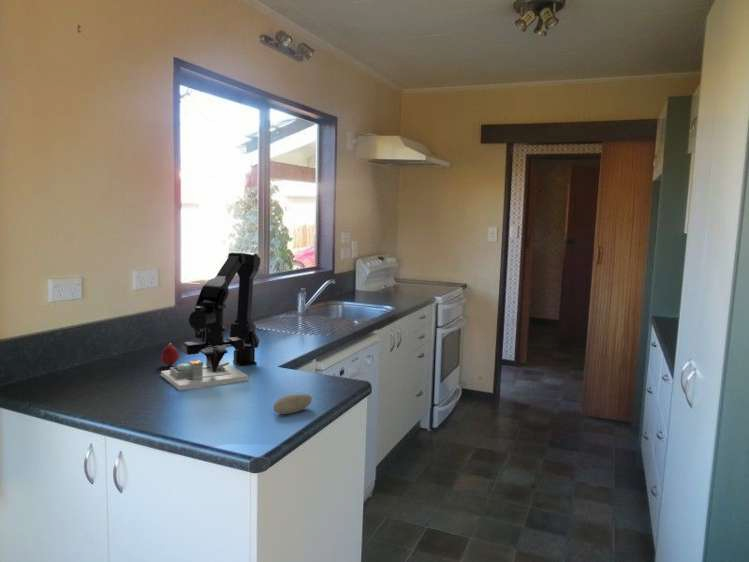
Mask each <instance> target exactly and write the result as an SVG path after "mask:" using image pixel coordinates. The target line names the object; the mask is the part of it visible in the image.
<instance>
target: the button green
mask: <svg viewBox="0 0 749 562" xmlns="http://www.w3.org/2000/svg"><path fill="white" fill-rule="evenodd" d="M176 367H177V371H179V372H182V371H189V370H190V364H189V363H179V364H177V365H176Z"/></svg>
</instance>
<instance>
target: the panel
mask: <svg viewBox="0 0 749 562" xmlns="http://www.w3.org/2000/svg"><path fill="white" fill-rule="evenodd" d="M169 367H170V368H169V369H168V370H167V369H166V370H161V371H160V376H161V377H162V378H164V380H166V381H167V382H168V383H170V384H171V385H172V386H173V387H175V389H177V390H178V391H185V390H191V389H198V388H199V389H200V388H205V387H212V386H219V385H227V384H234V383H240V382H241V383H242V382H247V381H248V382H249V376H248V375H247V374H245V373H244V372H242V371H240V370H238V369H237V368H235V367H234V366H232V365H230V364H229V365H226V366H223V367H220V368H217V369H216V371H215V372H212V371H211V368H209V367H207V366H206V365H203V376H202V378H201V379H194V380H193V379H191V378H190V370H189V371H182V372H179V371H177V366H169Z"/></svg>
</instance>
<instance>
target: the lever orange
mask: <svg viewBox="0 0 749 562" xmlns="http://www.w3.org/2000/svg"><path fill="white" fill-rule="evenodd" d="M188 364H190V378H191V379H193V380H194V379H201V378H202V376H203V366H204V362H202V361H201V360H200V359H199V360H191V361H190V360H189V362H188Z"/></svg>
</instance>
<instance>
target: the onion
mask: <svg viewBox="0 0 749 562" xmlns="http://www.w3.org/2000/svg"><path fill="white" fill-rule="evenodd" d="M179 357H180V353H179V351H178V349H177V348H176V347H175V346H173V343H172V342H170V343H168V345H167V346H166V347H164V348H163V349H162V351H161V353H160V359H161V361H162V363H164V364H165V365H167V366H168V367H173V365H174V364H175V363H176V362H178V359H179Z"/></svg>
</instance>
